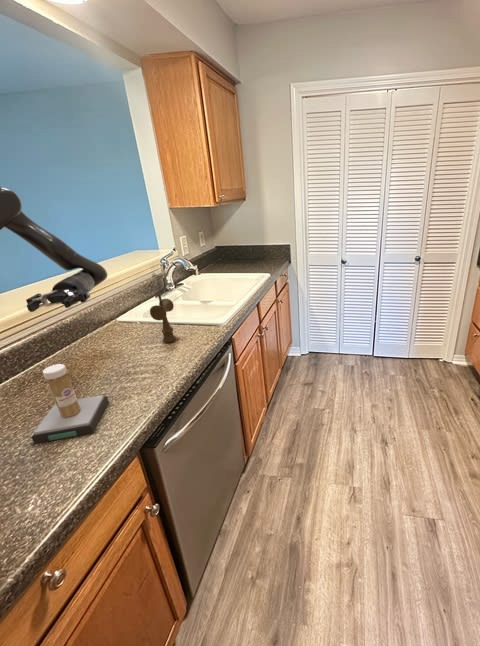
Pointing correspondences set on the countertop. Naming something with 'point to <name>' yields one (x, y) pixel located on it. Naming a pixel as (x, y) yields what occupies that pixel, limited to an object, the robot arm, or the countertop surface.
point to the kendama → (164, 317)
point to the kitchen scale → (71, 421)
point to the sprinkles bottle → (62, 390)
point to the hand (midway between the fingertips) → (48, 306)
